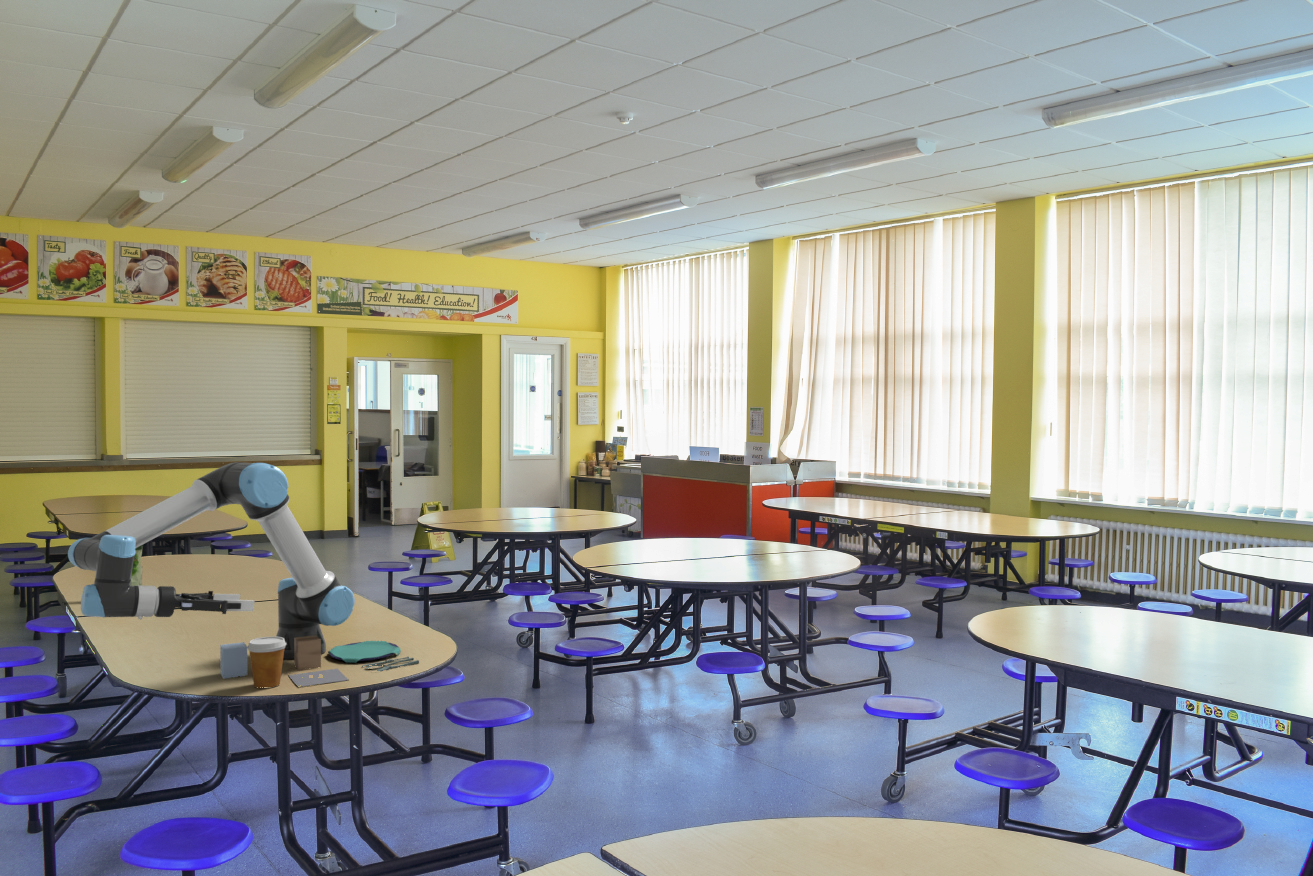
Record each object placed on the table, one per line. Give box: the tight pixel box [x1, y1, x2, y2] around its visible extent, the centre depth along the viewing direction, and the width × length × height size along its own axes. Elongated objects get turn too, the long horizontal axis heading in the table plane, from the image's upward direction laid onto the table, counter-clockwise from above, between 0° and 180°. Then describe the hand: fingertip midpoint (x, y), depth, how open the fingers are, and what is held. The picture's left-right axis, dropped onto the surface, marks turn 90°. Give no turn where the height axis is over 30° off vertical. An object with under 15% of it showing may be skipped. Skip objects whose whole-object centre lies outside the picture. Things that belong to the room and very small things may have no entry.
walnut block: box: [294, 635, 322, 671], centre depth 260 cm, size 6×6×8 cm
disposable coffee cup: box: [246, 636, 286, 689], centre depth 241 cm, size 10×10×12 cm
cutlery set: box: [327, 640, 420, 672], centre depth 269 cm, size 20×30×2 cm, turn 41°
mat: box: [288, 668, 349, 688], centre depth 248 cm, size 13×13×1 cm
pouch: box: [130, 544, 144, 586], centre depth 352 cm, size 11×12×25 cm
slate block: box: [219, 641, 248, 679], centre depth 252 cm, size 6×6×8 cm
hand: (246, 602), depth 238 cm, fingers open, 13 cm apart
